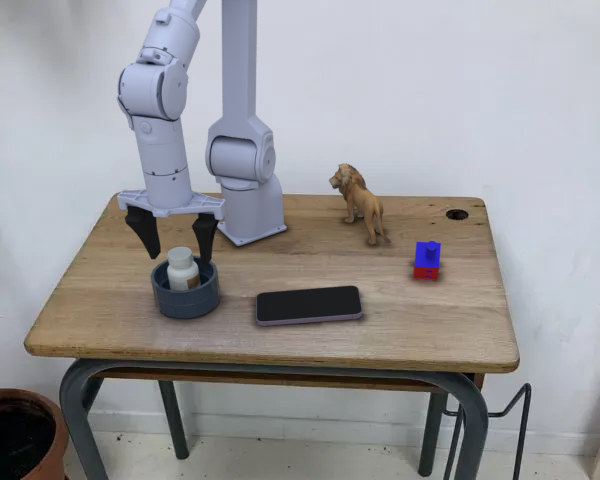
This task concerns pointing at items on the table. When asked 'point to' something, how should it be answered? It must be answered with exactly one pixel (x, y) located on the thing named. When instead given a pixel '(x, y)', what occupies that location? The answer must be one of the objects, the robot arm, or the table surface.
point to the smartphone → (308, 305)
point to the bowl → (186, 292)
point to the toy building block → (427, 260)
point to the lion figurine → (359, 199)
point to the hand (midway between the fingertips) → (181, 258)
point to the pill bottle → (182, 269)
